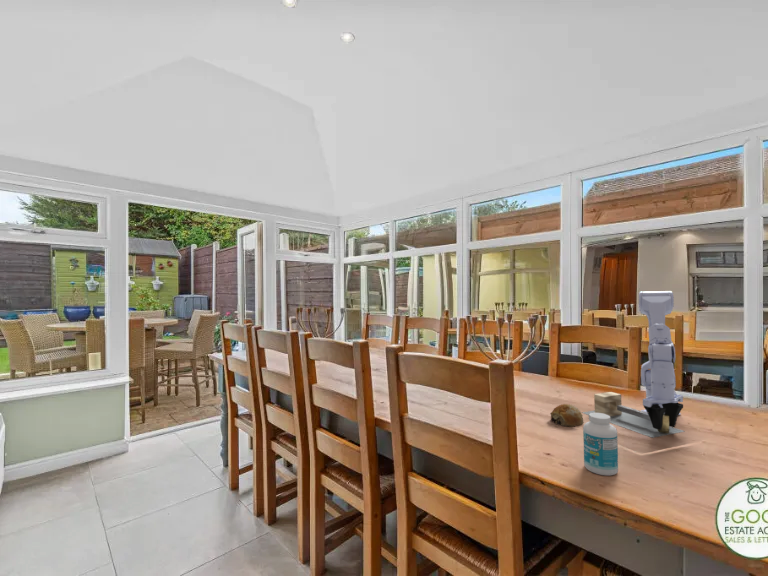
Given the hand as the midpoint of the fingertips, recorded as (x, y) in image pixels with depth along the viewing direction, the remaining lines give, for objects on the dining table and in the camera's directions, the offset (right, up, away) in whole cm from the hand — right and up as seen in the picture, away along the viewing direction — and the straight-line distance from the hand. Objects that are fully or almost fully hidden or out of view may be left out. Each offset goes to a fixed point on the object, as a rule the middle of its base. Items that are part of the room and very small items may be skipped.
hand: (663, 427), depth 116 cm
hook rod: (-2, -1, +7) cm, 7 cm away
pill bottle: (-32, -3, -22) cm, 39 cm away
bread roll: (-24, -3, +13) cm, 27 cm away
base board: (-4, -3, +11) cm, 12 cm away
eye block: (-6, -2, +18) cm, 20 cm away
